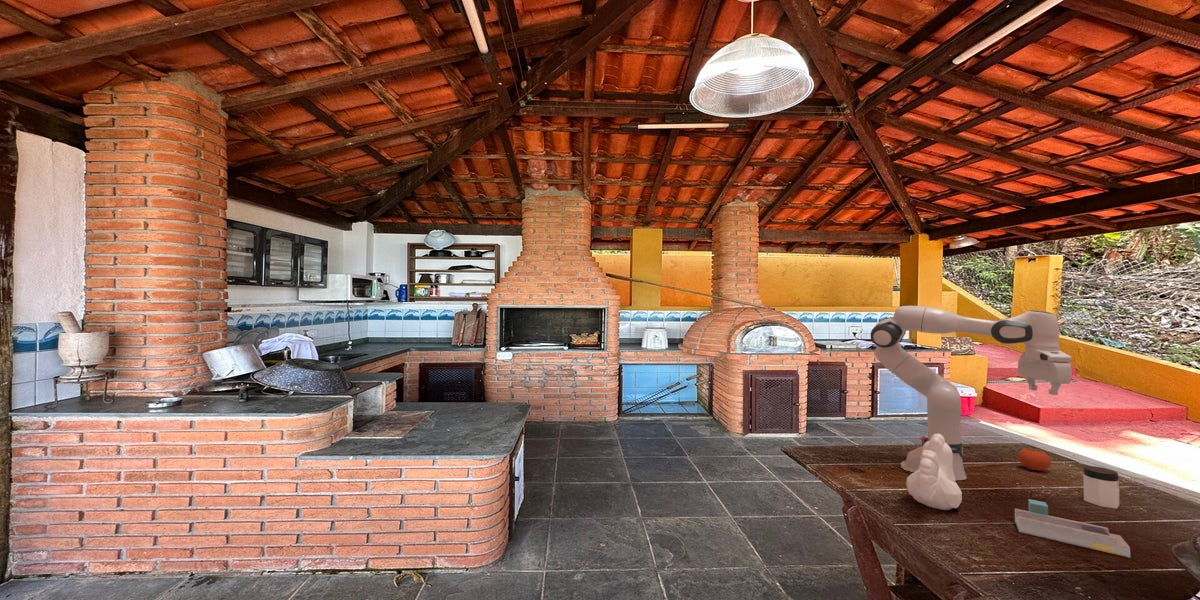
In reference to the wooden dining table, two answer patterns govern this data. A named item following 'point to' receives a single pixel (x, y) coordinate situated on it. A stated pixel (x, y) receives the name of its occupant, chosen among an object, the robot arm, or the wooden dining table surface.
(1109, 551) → the white long bar
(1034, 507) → the block
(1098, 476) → the jar
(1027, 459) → the tomato
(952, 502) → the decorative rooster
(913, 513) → the wooden dining table surface
